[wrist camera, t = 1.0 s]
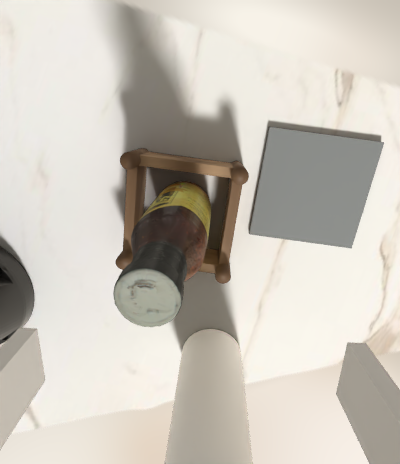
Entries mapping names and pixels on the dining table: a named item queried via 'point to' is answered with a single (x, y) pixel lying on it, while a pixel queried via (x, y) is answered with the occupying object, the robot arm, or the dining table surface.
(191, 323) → the dining table surface
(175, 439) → the bottle
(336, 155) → the mat
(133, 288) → the sauce bottle
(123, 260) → the corner post wooden tray
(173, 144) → the dining table surface
